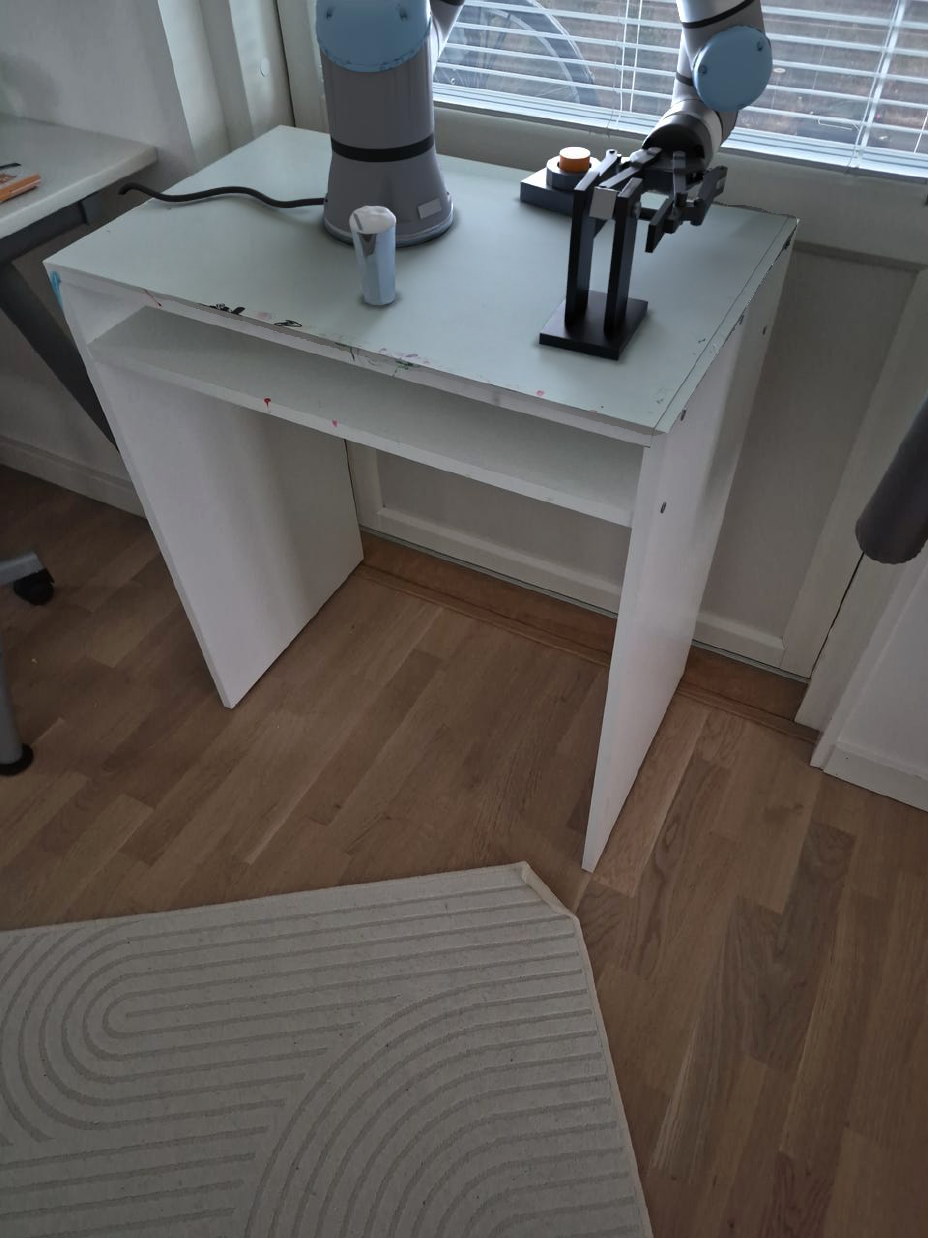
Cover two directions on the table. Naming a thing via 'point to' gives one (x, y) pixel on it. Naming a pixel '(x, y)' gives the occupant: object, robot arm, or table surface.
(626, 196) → the stand
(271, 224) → the table surface
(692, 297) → the table surface
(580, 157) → the button
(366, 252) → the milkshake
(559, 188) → the control block
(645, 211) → the switch lever
